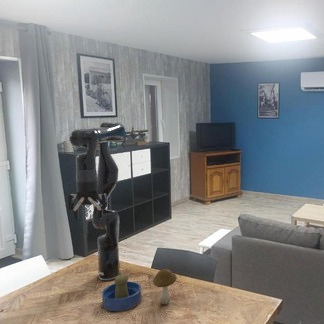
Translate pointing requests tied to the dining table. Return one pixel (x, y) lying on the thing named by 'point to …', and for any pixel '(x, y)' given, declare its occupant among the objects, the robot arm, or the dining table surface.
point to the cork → (121, 287)
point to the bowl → (122, 303)
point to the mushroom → (164, 283)
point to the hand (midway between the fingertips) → (88, 219)
